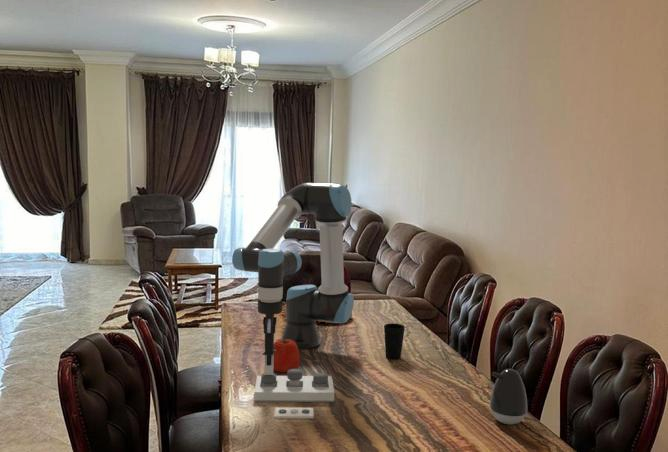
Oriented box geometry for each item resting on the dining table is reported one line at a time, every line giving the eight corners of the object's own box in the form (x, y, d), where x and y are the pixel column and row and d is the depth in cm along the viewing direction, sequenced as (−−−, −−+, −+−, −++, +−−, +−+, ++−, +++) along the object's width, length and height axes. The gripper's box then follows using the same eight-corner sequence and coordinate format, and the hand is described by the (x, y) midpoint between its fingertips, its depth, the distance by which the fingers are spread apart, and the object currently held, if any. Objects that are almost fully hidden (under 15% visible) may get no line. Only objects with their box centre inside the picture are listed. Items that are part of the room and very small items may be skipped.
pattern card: (275, 409, 174) (275, 406, 174) (313, 409, 174) (313, 406, 174) (274, 418, 168) (274, 415, 168) (313, 418, 168) (313, 415, 168)
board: (257, 384, 193) (257, 375, 192) (331, 385, 194) (331, 376, 194) (254, 401, 179) (254, 392, 179) (334, 402, 180) (334, 392, 180)
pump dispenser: (483, 413, 175) (486, 363, 174) (517, 413, 176) (521, 363, 175) (495, 428, 165) (498, 375, 164) (532, 428, 166) (535, 375, 165)
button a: (312, 387, 189) (313, 372, 189) (327, 387, 189) (327, 373, 189) (313, 393, 185) (313, 378, 184) (328, 393, 185) (328, 378, 184)
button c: (261, 387, 188) (261, 372, 188) (276, 387, 188) (276, 372, 188) (260, 392, 183) (260, 377, 183) (275, 393, 184) (275, 377, 183)
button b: (287, 383, 188) (287, 368, 188) (301, 383, 189) (302, 368, 188) (287, 389, 184) (287, 373, 183) (302, 389, 184) (302, 374, 184)
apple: (286, 361, 216) (287, 333, 215) (306, 369, 208) (307, 339, 207) (262, 368, 208) (263, 338, 207) (282, 376, 200) (283, 346, 199)
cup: (402, 361, 219) (403, 329, 218) (381, 359, 221) (383, 328, 220) (404, 355, 227) (405, 324, 226) (384, 353, 228) (385, 322, 227)
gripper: (259, 294, 189) (258, 366, 192) (256, 304, 176) (255, 381, 179) (282, 295, 190) (281, 367, 192) (281, 304, 177) (280, 381, 179)
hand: (268, 374), depth 185 cm, fingers closed
